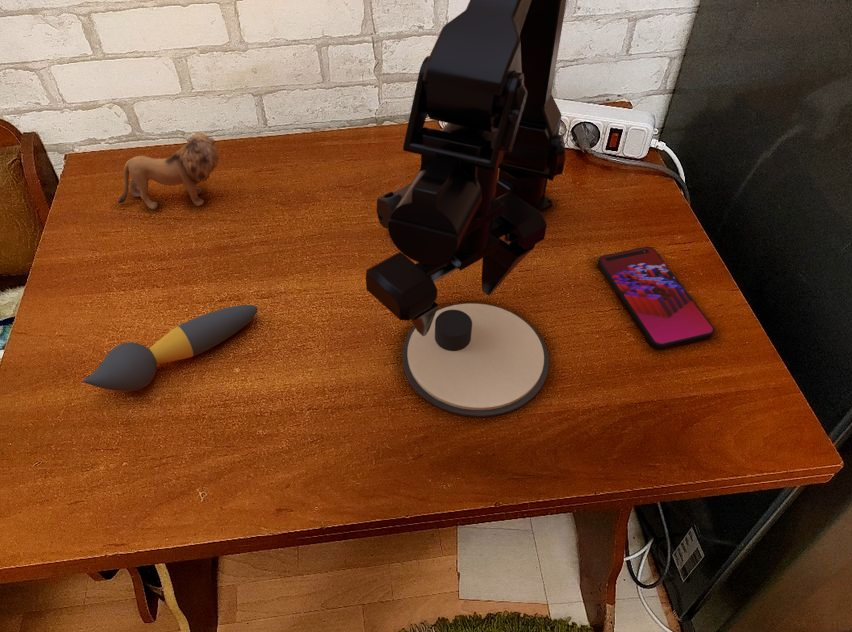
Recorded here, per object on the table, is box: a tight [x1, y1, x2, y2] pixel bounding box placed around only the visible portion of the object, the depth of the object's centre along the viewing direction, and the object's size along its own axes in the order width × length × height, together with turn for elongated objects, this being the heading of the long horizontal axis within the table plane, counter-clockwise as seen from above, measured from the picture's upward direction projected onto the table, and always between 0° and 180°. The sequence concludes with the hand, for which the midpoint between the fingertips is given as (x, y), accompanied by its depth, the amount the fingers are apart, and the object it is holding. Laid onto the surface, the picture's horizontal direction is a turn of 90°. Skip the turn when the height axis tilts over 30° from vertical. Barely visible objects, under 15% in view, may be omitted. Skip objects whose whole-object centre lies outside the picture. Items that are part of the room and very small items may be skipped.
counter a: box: [435, 310, 472, 351], centre depth 75 cm, size 4×4×2 cm
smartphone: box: [597, 246, 716, 350], centre depth 80 cm, size 8×1×15 cm
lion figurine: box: [117, 132, 220, 210], centre depth 90 cm, size 15×5×9 cm, turn 103°
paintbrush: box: [81, 304, 259, 392], centre depth 74 cm, size 20×5×5 cm, turn 134°
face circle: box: [401, 302, 550, 418], centre depth 75 cm, size 16×16×1 cm
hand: (454, 312), depth 72 cm, fingers open, 9 cm apart
